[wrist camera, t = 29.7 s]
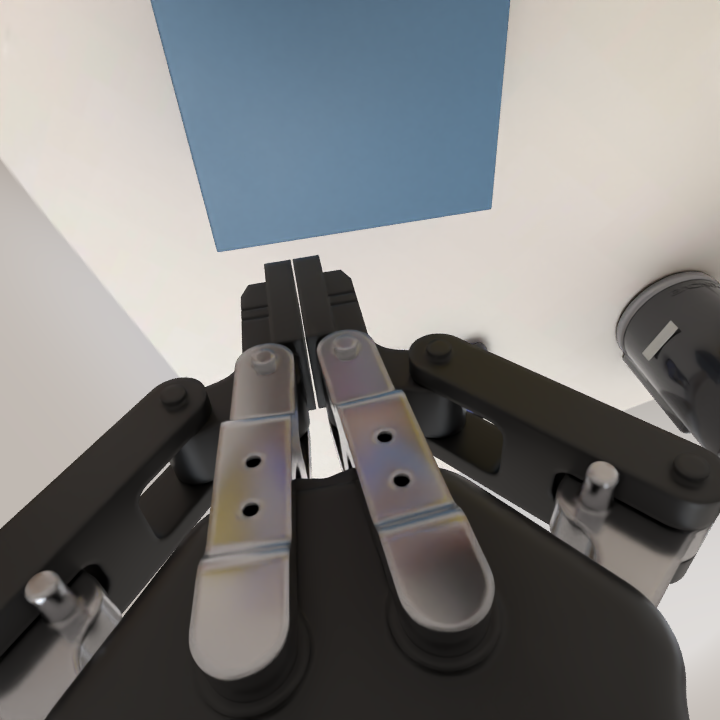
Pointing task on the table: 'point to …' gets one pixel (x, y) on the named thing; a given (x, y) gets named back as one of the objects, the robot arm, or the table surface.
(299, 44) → the lid
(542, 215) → the table surface
